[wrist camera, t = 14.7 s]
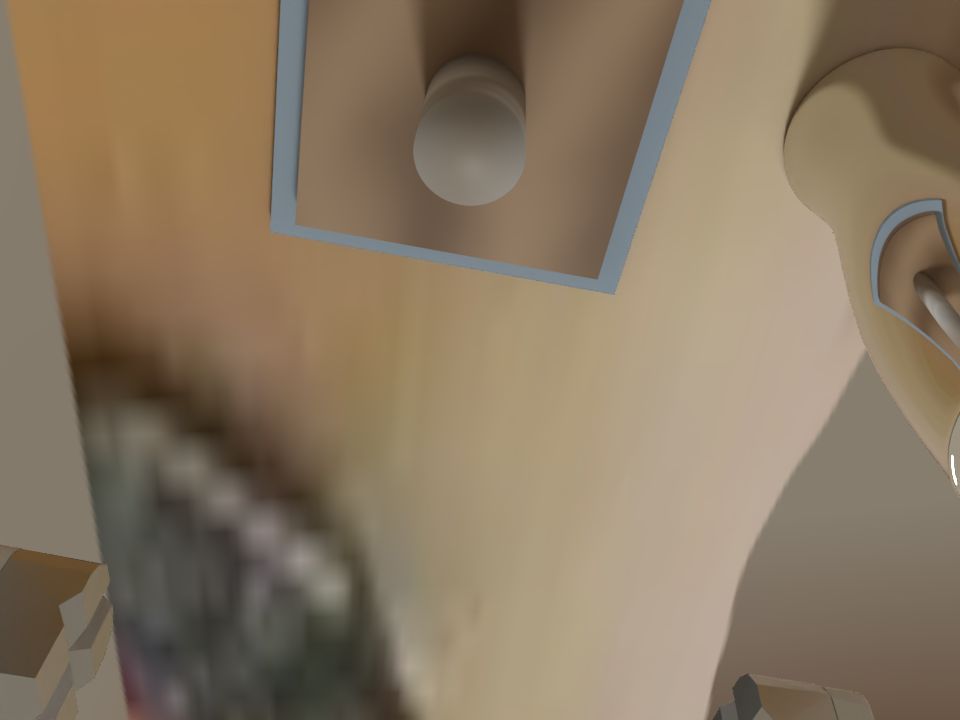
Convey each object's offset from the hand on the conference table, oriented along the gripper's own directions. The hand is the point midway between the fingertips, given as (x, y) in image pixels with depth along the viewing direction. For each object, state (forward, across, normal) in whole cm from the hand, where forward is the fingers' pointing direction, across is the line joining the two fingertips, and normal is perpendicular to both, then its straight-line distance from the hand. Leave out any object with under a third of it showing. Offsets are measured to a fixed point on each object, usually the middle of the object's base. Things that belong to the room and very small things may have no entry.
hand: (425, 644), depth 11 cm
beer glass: (+22, -13, -1) cm, 26 cm away
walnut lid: (+21, +1, 0) cm, 21 cm away
